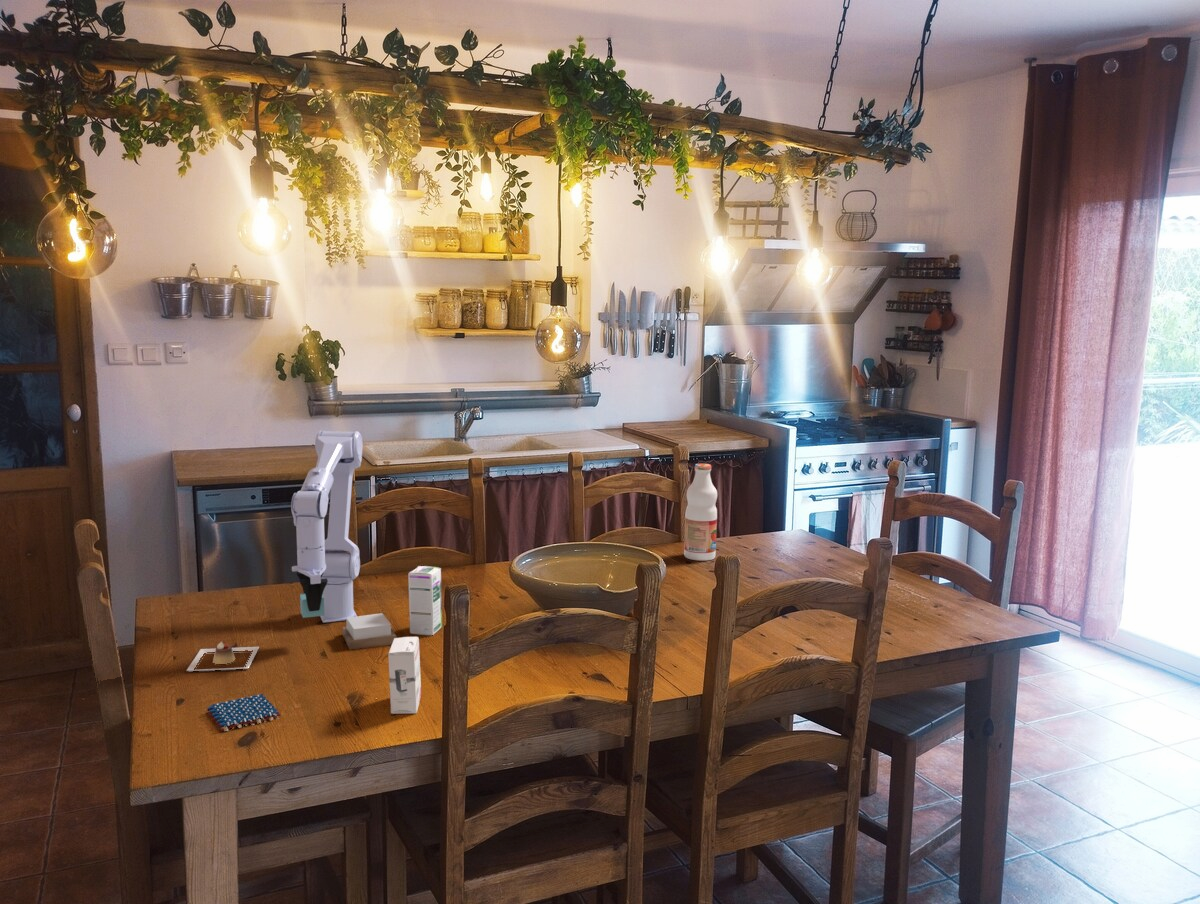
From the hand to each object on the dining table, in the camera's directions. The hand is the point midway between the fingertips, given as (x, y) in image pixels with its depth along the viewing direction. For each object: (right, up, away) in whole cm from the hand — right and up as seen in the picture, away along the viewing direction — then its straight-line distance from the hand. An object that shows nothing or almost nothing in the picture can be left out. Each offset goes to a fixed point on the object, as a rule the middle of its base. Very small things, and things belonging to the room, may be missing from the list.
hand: (312, 606), depth 207 cm
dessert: (-16, -11, -8) cm, 21 cm away
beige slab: (+11, -9, +5) cm, 15 cm away
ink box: (+26, -14, -28) cm, 41 cm away
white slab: (+11, -6, +5) cm, 13 cm away
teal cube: (0, -1, 0) cm, 2 cm away
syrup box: (+22, -8, +11) cm, 26 cm away
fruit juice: (+92, +2, +79) cm, 121 cm away
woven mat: (-2, -15, -34) cm, 37 cm away
